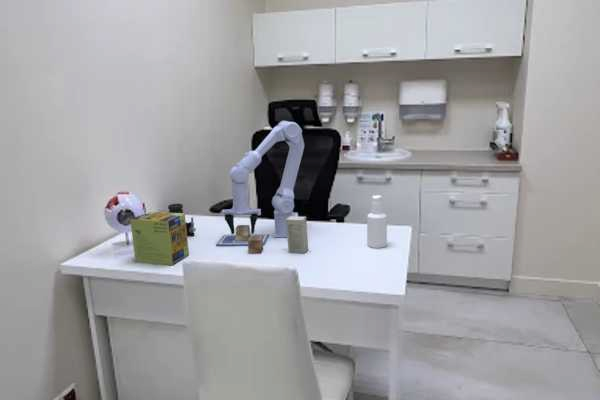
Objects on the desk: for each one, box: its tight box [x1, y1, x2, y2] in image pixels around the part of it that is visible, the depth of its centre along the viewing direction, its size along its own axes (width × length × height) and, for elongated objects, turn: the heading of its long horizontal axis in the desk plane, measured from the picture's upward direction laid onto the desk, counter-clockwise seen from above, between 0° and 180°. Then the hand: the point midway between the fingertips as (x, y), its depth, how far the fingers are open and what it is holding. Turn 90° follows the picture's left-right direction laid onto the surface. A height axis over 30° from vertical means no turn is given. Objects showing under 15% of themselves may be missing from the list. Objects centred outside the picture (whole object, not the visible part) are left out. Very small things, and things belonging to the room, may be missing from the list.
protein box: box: [129, 211, 190, 266], centre depth 161 cm, size 10×15×16 cm
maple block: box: [234, 224, 251, 241], centre depth 177 cm, size 4×4×5 cm
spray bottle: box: [366, 195, 388, 249], centre depth 165 cm, size 7×7×18 cm
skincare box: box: [286, 216, 309, 254], centre depth 163 cm, size 6×4×12 cm
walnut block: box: [247, 236, 264, 255], centre depth 165 cm, size 4×4×5 cm
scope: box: [167, 203, 197, 238], centre depth 182 cm, size 8×14×10 cm
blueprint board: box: [216, 233, 270, 247], centre depth 178 cm, size 18×12×1 cm, turn 85°
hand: (242, 233), depth 177 cm, fingers open, 7 cm apart
